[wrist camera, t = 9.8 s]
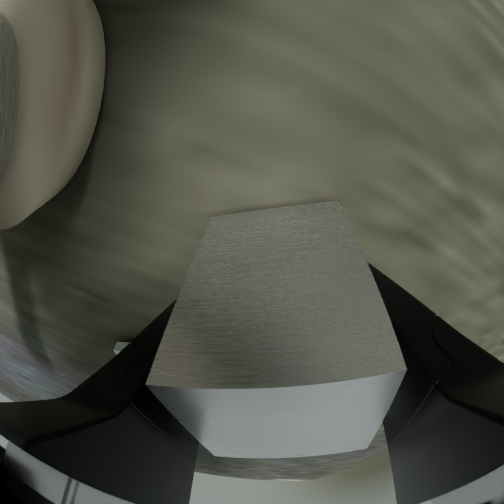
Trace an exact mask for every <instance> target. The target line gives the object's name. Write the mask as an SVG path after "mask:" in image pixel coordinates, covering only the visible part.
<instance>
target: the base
mask: <svg viewBox="0 0 504 504" xmlns="http://www.w3.org/2000/svg"><path fill="white" fill-rule="evenodd" d="M0 13H2V14H3V15H5V16H6V17H7V19H8V20H9V22H10V23H11V25H12V28H13V30H14V33H15V37H16V41H17V48H18V55H19V103H18V116H17V124H16V131H15V137H14V143H13V148H12V152H11V156H10V160H9V163H8V166H7V170H6V172H5V174H4V177H3V179H2V181H1V183H0V230H4V229H8V228H12V227H14V226H15V225H17V224H19V223H20V222H22V221H23V220H24V219H25V218H27V217H28V216H29V215H30V214H32V213H33V212H34V211H36V210H37V209H38V208H40V207H41V206H42V205H44V204H45V203H46V202H48V201H49V200H50V199H52V198H53V197H54V196H56V195H57V194H58V193H59V192H60V191H61V190H62V189H63V188H64V187H65V186H66V185H67V184H68V183H69V181H70V180H71V178H72V177H73V176H74V174H75V173H76V171H77V169H78V167H79V166H80V164H81V162H82V160H83V158H84V156H85V153H86V151H87V149H88V146H89V144H90V142H91V138H92V135H93V132H94V129H95V126H96V122H97V118H98V114H99V110H100V106H101V100H102V94H103V88H104V76H105V42H104V32H103V28H102V23H101V19H100V15H99V13H98V11H97V8H96V6H95V3H94V2H93V0H0Z"/></svg>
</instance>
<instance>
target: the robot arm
mask: <svg viewBox="0 0 504 504" xmlns="http://www.w3.org/2000/svg"><path fill="white" fill-rule="evenodd" d="M367 263H368V262H367ZM368 265H369V268H370V270H371V272H372V275H373V277H374V280H375V282H376V285H377V287H378V289H379V292H380V294H381V297H382V299H383V302H384V305H385V307H386V310H387V313H388V315H389V318H390V321H391V323H392V326H393V329H394V332H395V335H396V337H397V340H398V343H399V346H400V349H401V352H402V355H403V358H404V362H405V365H406V368H407V371H406V373H405V375H404V378H403V380H402V382H401V384H400V387H399V389H398V391H397V393H396V395H395V397H394V400H393V402H392V404H391V406H390V408H389V410H388V412H387V414H386V416H385V417H384V419H383V425H384V430H385V435H386V440H387V445H388V449H389V455H390V461H391V467H392V473H393V479H394V486H395V493H396V500H397V504H420V503H422V502H426V501H428V500H431V504H504V363H503V362H501V361H499V360H498V359H497V358H495V357H494V356H492V355H491V354H489V353H488V352H487V351H485V350H484V349H482V348H481V347H479V346H478V345H476V344H475V343H474V342H472V341H471V340H469V339H468V338H466V337H465V336H464V335H462V334H461V333H459V332H458V331H457V330H456V329H454V328H453V327H452V326H450V325H449V324H448V323H447V322H445V321H444V320H443V319H442V318H440V317H439V316H436V314H435V313H434V312H433V311H431V310H430V309H429V308H428V307H426V306H425V305H424V304H423V303H421V302H420V301H419V300H417V299H416V298H415V297H414V296H412V295H411V294H410V293H408V292H407V291H406V290H404V289H403V288H402V287H401V286H399V285H398V284H397V283H395V282H394V281H393V280H391V279H390V278H388V277H387V276H386V275H384V274H383V273H382V272H380V271H379V270H378V269H376V268H375V267H374V266H372V265H371V264H369V263H368ZM176 301H177V299H176V300H175V301H174V302H173V303H172V304H171V305H170V306H168V307H167V308H166V309H165V310H164V311H163V312H162V313H161V314H160V315H159V316H158V317H157V318H156V319H154V320H153V321H152V322H151V323H150V324H149V325H148V326H147V327H146V328H145V329H144V330H143V331H142V332H141V333H139V334H138V335H137V336H136V337H135V338H134V339H133V340H132V341H131V343H129V344H128V345H127V346H126V347H124V348H123V349H122V350H121V351H120V352H119V353H118V354H117V355H116V356H115V357H114V358H112V359H111V360H110V361H109V362H108V363H107V364H105V365H104V366H103V367H102V368H101V369H99V370H98V371H97V372H96V373H94V374H93V375H92V376H91V377H89V378H88V379H87V380H86V381H84V382H83V383H82V384H81V385H79V386H78V387H77V388H76V389H74V390H73V391H72V392H70V393H69V394H67V395H65V396H62V397H60V398H56V399H48V400H38V401H24V402H8V403H6V402H0V435H2V436H3V437H5V438H6V439H7V440H9V442H8V444H7V447H6V449H5V448H3V447H2V446H1V445H0V504H189V501H190V494H191V487H192V482H193V475H194V469H195V463H196V460H195V459H196V457H197V451H198V445H199V441H198V440H197V439H196V438H195V437H194V436H193V435H192V434H191V433H190V432H189V431H188V430H187V429H186V428H185V427H184V426H183V425H182V424H181V423H180V422H179V421H178V420H177V419H176V418H175V417H174V416H173V415H172V414H171V413H170V412H169V411H168V410H167V409H166V407H165V406H164V405H163V404H162V403H161V402H160V401H159V400H158V399H157V397H156V396H155V395H154V394H153V393H152V392H151V390H150V389H149V388H148V387H147V386H146V382H147V379H148V376H149V373H150V370H151V368H152V365H153V362H154V359H155V356H156V354H157V351H158V348H159V345H160V343H161V340H162V337H163V335H164V332H165V329H166V327H167V324H168V321H169V319H170V316H171V313H172V311H173V308H174V306H175V303H176Z"/></svg>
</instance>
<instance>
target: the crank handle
mask: <svg viewBox="0 0 504 504" xmlns="http://www.w3.org/2000/svg"><path fill="white" fill-rule="evenodd" d="M18 103H19V55H18V48H17V41H16V37H15V33H14V30H13V28H12V25H11V23H10V22H9V20H8V19H7V17H6V16H5V15H3V14H2V13H0V183H1V181H2V179H3V177H4V174H5V172H6V170H7V166H8V163H9V160H10V156H11V152H12V148H13V143H14V137H15V131H16V124H17V116H18Z"/></svg>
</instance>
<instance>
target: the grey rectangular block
mask: <svg viewBox="0 0 504 504" xmlns="http://www.w3.org/2000/svg"><path fill="white" fill-rule="evenodd" d="M406 371H407V368H406V365H405V362H404V358H403V355H402V352H401V349H400V346H399V343H398V340H397V337H396V335H395V332H394V329H393V326H392V323H391V321H390V318H389V315H388V313H387V310H386V307H385V305H384V302H383V299H382V297H381V294H380V292H379V289H378V287H377V285H376V282H375V280H374V277H373V275H372V272H371V270H370V268H369V265H368V263H367V261H366V259H365V256H364V254H363V252H362V250H361V247H360V245H359V243H358V241H357V239H356V237H355V234H354V232H353V230H352V228H351V226H350V224H349V222H348V220H347V218H346V216H345V214H344V212H343V210H342V208H341V206H340V204H339V202H338V201H331V202H322V203H313V204H304V205H296V206H287V207H279V208H271V209H264V210H256V211H249V212H242V213H235V214H228V215H221V216H214V217H211V219H210V222H209V224H208V226H207V228H206V231H205V233H204V235H203V238H202V240H201V242H200V245H199V247H198V249H197V252H196V254H195V256H194V259H193V261H192V264H191V266H190V268H189V271H188V273H187V276H186V278H185V281H184V283H183V286H182V288H181V291H180V293H179V296H178V298H177V301H176V303H175V306H174V308H173V311H172V313H171V316H170V319H169V321H168V324H167V327H166V329H165V332H164V335H163V337H162V340H161V343H160V345H159V348H158V351H157V354H156V356H155V359H154V362H153V365H152V368H151V370H150V373H149V376H148V379H147V382H146V386H147V387H148V388H149V389H150V390H151V392H152V393H153V394H154V395H155V396H156V397H157V399H158V400H159V401H160V402H161V403H162V404H163V405H164V406H165V407H166V409H167V410H168V411H169V412H170V413H171V414H172V415H173V416H174V417H175V418H176V419H177V420H178V421H179V422H180V423H181V424H182V425H183V426H184V427H185V428H186V429H187V430H188V431H189V432H190V433H191V434H192V435H193V436H194V437H195V438H196V439H197V440H198V441H199V442H200V443H201V444H202V445H203V446H204V447H205V448H206V449H208V450H209V451H210V452H211V453H212V454H213V455H214V456H220V457H236V458H289V457H306V456H317V455H327V454H335V453H343V452H350V451H356V450H362V449H367V448H368V446H369V444H370V443H371V441H372V439H373V438H374V436H375V434H376V432H377V430H378V429H379V427H380V425H381V423H382V421H383V419H384V417H385V416H386V414H387V412H388V410H389V408H390V406H391V404H392V402H393V400H394V397H395V395H396V393H397V391H398V389H399V387H400V384H401V382H402V380H403V378H404V375H405V373H406Z"/></svg>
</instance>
